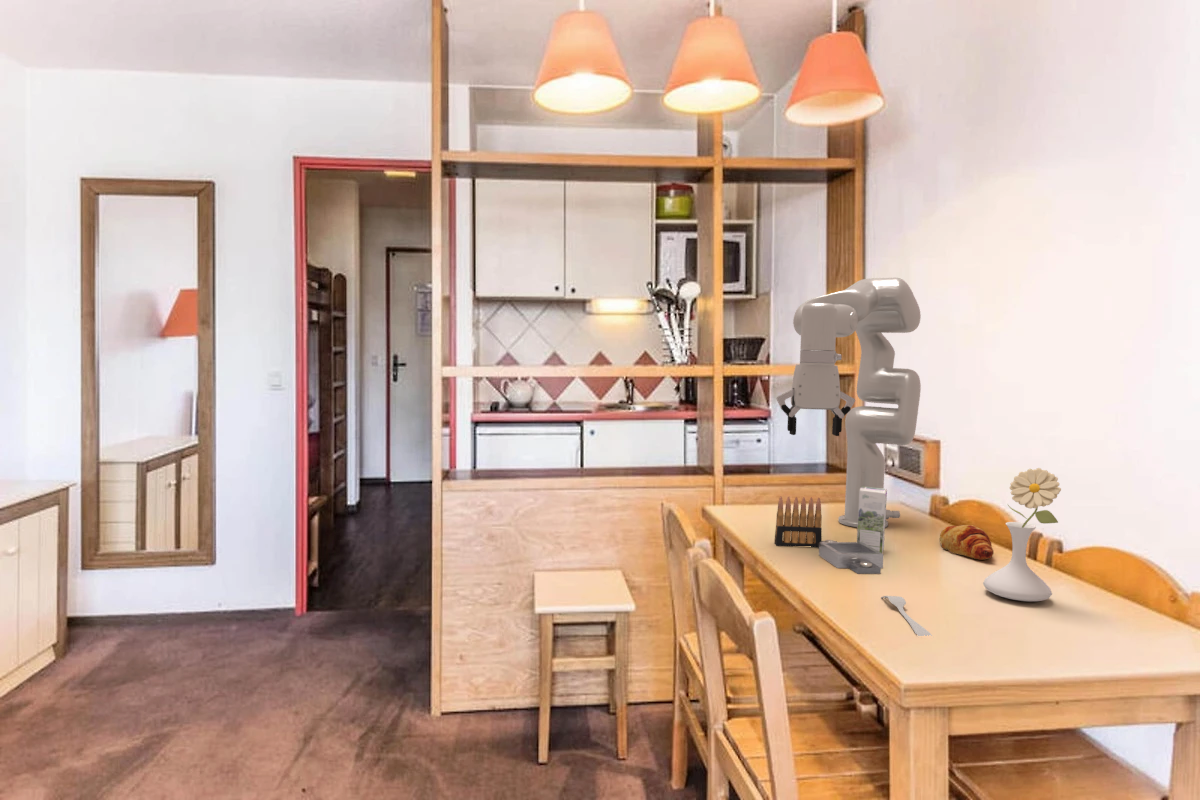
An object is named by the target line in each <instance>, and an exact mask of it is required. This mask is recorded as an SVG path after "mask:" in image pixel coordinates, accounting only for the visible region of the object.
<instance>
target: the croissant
mask: <svg viewBox="0 0 1200 800" xmlns="http://www.w3.org/2000/svg"><path fill="white" fill-rule="evenodd" d="M939 542H940V544H941V548H942V549H943V550H944V549H945V550H946V551H948V552H950V553H952V554H955V555H961V556H964V557H967V558H970V559H973V558H974V559H973V560H980V561H983V560H984V561H985V560H989V559H991V558H992V557H993V555H994V549H993V544H992V541H991V540H990V537H989V536H988V534H987V532H985V530H983V529H982V528H979V527H977V526H975V525H970V524H962V525H949V526H946V527H945V528H944V529H942V530H941V532H940V533H939ZM988 558H989V559H988Z"/></svg>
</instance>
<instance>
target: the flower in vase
mask: <svg viewBox="0 0 1200 800" xmlns="http://www.w3.org/2000/svg"><path fill="white" fill-rule="evenodd" d="M1059 486H1060V482H1059V477H1058V476H1055V474H1054V473H1051V472H1050V471H1048V470H1047V469H1042V468H1041V467H1038V468H1036V469H1032V468H1029V469H1027V470H1025V471H1019V473H1018V475H1017V476H1014V477H1013V481H1011V483H1010V486H1009V490H1010V494H1011V496H1012V497H1011V499H1012V501H1014V502H1015V503H1018V504H1019V505H1021V506H1024V507H1025V508H1028V509H1034V511H1033V512H1032V514H1031V515H1030V516H1029V517H1028V518H1027V517H1026V516H1025V515H1024V514H1022V513H1021V512H1020V511H1018V510H1016V509H1014V508H1012V507H1011V506H1010V505H1009V504H1007V506H1008V507H1009V509H1011V510H1012V511H1013V512H1016V513H1017V514H1019V515H1020V516H1022V517H1023V518H1025V519H1026V520H1025V521H1024V522H1021V521H1008V522H1005V525H1006V526H1007V528H1008V530H1009V532H1010V536H1011V543H1012V551H1011V558H1010V561H1009V562H1008V563H1007V564H1006V565H1005V566H1003V567H1001V568H1000V569H998V570H996V571H994V572H992V573H991V574H989V575H988V576H987V577H985V578H984V580H983V582H982V584H983V586H984V588H985V589H986V590H987V591H988V592H990V593H992V594H994V595H996V596H997V597H1002V598H1005V599H1009V600H1013V601H1019V602H1020V601H1021V602H1040V601H1047V600H1049V599H1050V598H1051V597H1052V595H1053V593H1052V590H1051V588H1050V586H1049V585H1048V584H1047V583H1046V582H1045V581H1044V580H1043V579H1042V578H1041V577H1040V576H1039V575H1037V574H1036V573H1035V571H1033V570H1032V569H1031V568H1030V566H1029V565H1028V563H1027V559H1026V557H1027V554H1026V553H1027V546H1028V541H1029V538H1030V536H1031V535H1032V534H1033V531H1034V530H1035V529H1036V528H1037V526H1036V525H1034V524H1031V523H1028V522H1029V521H1030V520H1031V519H1032V518H1033V517H1034V516H1035V518H1036V520H1037V521H1038V522H1039V523H1040V524H1058V523H1059V520H1058V519H1057V518H1056V517H1055V515H1054V514H1053V513H1052V512H1051V511H1050V510H1048V509H1044V510H1039V511H1038V508H1039V507H1043V508H1044V507H1046V506H1050V505H1051V504H1052V503H1053V502H1054V500H1055V499H1057V497H1058V495H1059V494H1060V492H1061V491H1062V488H1061V487H1059Z"/></svg>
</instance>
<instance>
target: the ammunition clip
mask: <svg viewBox="0 0 1200 800" xmlns="http://www.w3.org/2000/svg"><path fill="white" fill-rule="evenodd" d="M783 501H784V500H783V497H782V496H780V497H779V498H778V503H777V511H776V522H775V531H774V532H775V533H774V543H773V544H774V546H775V545H776V547H793V546H811V547H810V548H818V547H817V542H822V541H823V540H822V539H823V538H822V537H823V536H822V535H823V534H822V532H823V531H822V502H821V497H818V498H817V500H816V503H815V506H814V500H813V497H812V496H811V497H810V499H809V500H808V501H809V502H808V507H807V503H806V502H807V501H806V497H805V496H803V497H802V498H801V502H800V511H799V500H798V497H797V496H796V497H794V500H793V507H792V504H791V498H790V496H787V499H786V501H785V502H786V503H785V509H784V502H783ZM791 508H792V509H791ZM807 508H808V509H807ZM814 509H815V510H814Z"/></svg>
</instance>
